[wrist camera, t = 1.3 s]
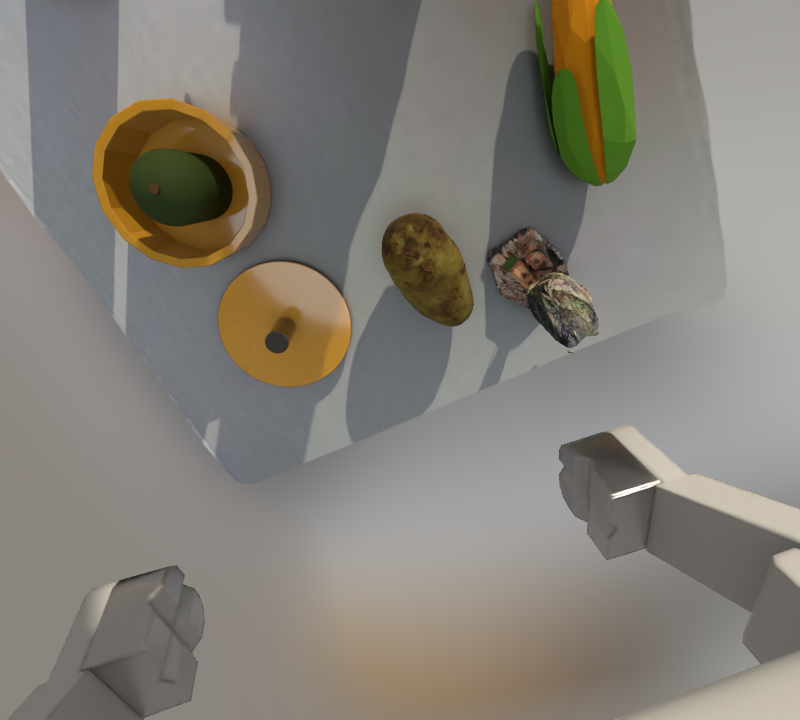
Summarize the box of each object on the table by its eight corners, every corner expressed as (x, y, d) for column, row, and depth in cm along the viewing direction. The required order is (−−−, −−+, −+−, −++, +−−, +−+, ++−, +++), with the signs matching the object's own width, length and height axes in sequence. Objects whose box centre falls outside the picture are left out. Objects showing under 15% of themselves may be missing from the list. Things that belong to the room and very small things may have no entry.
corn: (588, 198, 40) (541, -76, 32) (550, 198, 47) (505, -27, 39) (665, 169, 40) (636, -112, 32) (615, 173, 47) (582, -57, 39)
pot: (112, 116, 42) (69, 105, 36) (256, 106, 42) (238, 93, 36) (153, 261, 47) (121, 273, 41) (281, 250, 47) (269, 260, 41)
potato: (402, 331, 51) (407, 356, 44) (372, 219, 47) (373, 226, 39) (471, 313, 51) (488, 335, 44) (449, 199, 46) (464, 201, 39)
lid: (207, 265, 47) (185, 277, 41) (343, 254, 48) (339, 263, 42) (236, 388, 53) (220, 413, 47) (358, 376, 53) (356, 400, 47)
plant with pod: (513, 334, 52) (592, 417, 34) (479, 246, 48) (548, 286, 30) (577, 305, 52) (694, 374, 33) (548, 213, 47) (664, 233, 29)
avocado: (160, 156, 43) (99, 148, 33) (225, 151, 43) (183, 141, 33) (177, 222, 45) (124, 233, 35) (238, 217, 45) (202, 227, 35)
